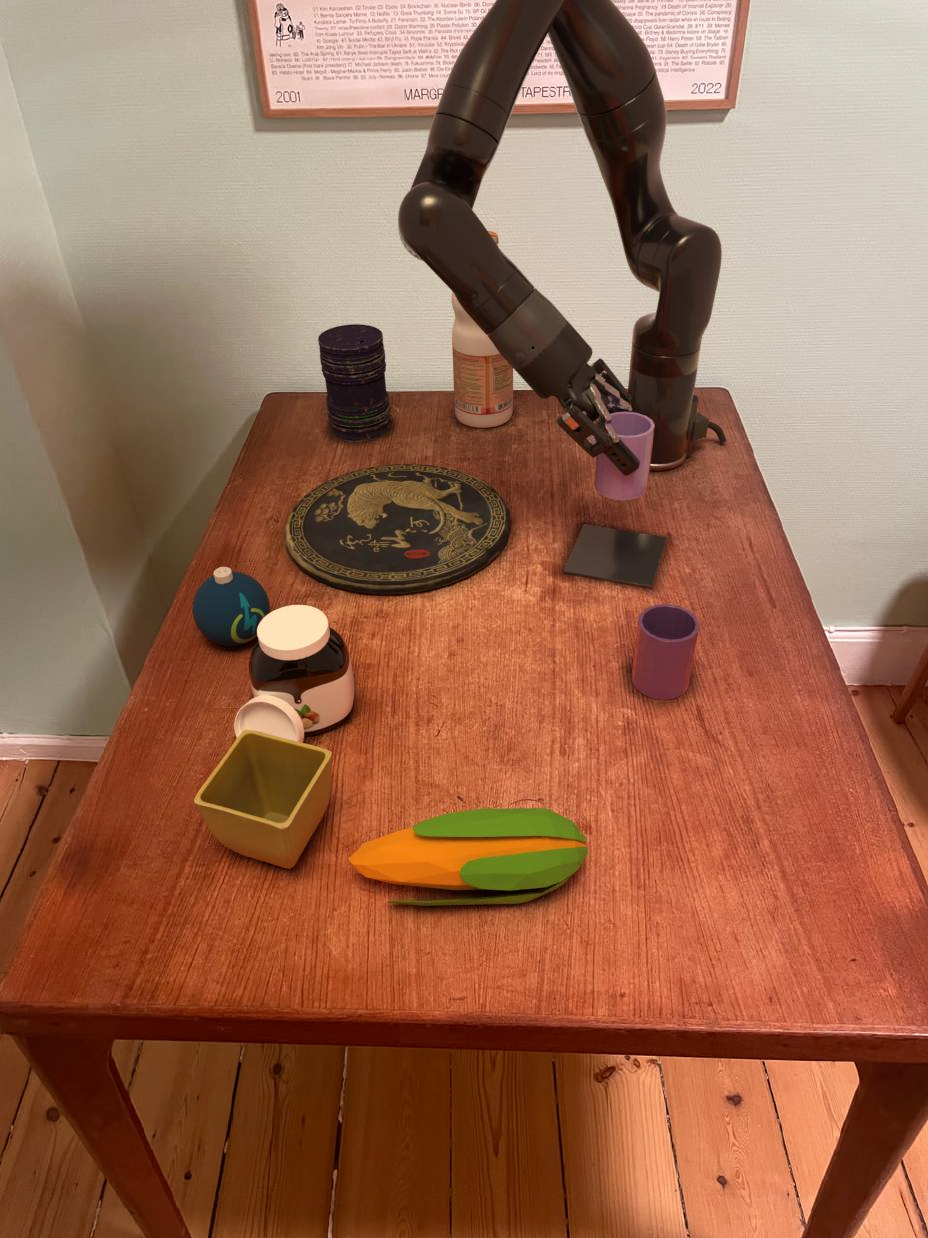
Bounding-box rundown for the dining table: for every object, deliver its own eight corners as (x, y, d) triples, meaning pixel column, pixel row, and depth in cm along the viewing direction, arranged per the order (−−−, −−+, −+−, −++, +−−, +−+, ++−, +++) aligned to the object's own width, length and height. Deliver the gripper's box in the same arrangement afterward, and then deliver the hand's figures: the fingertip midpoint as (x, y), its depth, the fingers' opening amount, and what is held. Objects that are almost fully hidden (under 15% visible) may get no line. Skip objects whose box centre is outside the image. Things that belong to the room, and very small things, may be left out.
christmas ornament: (205, 668, 99) (185, 597, 93) (197, 623, 105) (178, 554, 99) (281, 651, 101) (265, 579, 94) (269, 607, 107) (254, 538, 101)
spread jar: (354, 680, 97) (342, 595, 89) (363, 758, 88) (350, 670, 81) (242, 696, 95) (220, 611, 88) (240, 776, 87) (215, 689, 79)
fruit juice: (455, 430, 141) (448, 246, 123) (454, 403, 148) (447, 226, 130) (514, 428, 141) (516, 243, 123) (511, 401, 148) (512, 223, 130)
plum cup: (666, 655, 98) (675, 597, 93) (700, 688, 94) (711, 630, 89) (620, 672, 96) (627, 614, 91) (653, 707, 92) (661, 648, 87)
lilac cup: (627, 468, 107) (633, 407, 102) (657, 491, 102) (665, 428, 97) (585, 481, 105) (588, 419, 100) (613, 505, 100) (619, 441, 95)
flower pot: (346, 815, 82) (334, 749, 77) (302, 894, 76) (286, 828, 70) (261, 793, 85) (244, 727, 79) (213, 867, 78) (190, 801, 73)
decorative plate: (503, 589, 105) (256, 579, 108) (503, 602, 106) (258, 592, 109) (516, 464, 129) (312, 459, 131) (516, 476, 130) (313, 471, 132)
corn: (598, 851, 69) (340, 869, 69) (593, 913, 74) (350, 930, 73) (581, 782, 75) (344, 798, 75) (578, 843, 80) (354, 859, 79)
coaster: (583, 526, 119) (583, 523, 118) (667, 539, 116) (667, 537, 115) (563, 573, 111) (563, 570, 110) (652, 589, 108) (652, 586, 107)
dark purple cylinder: (317, 427, 143) (304, 336, 133) (365, 407, 148) (356, 318, 138) (355, 448, 137) (343, 355, 128) (404, 427, 142) (397, 335, 133)
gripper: (547, 348, 88) (655, 469, 93) (579, 297, 99) (675, 409, 103) (496, 392, 93) (601, 505, 98) (532, 339, 104) (626, 444, 108)
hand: (639, 455), depth 100 cm, fingers closed on lilac cup, 6 cm apart
